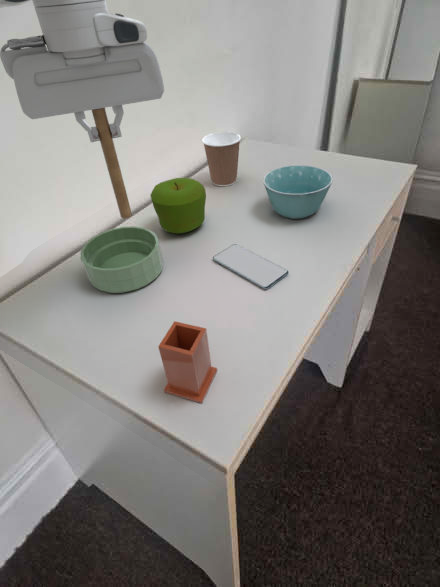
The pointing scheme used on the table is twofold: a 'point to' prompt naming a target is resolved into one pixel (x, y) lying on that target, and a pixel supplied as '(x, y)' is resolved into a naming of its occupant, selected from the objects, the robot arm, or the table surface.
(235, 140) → the coffee cup
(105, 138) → the stirring stick
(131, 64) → the robot arm
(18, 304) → the table surface
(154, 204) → the apple
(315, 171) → the bowl
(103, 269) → the green round dish
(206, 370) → the utensil holder
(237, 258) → the smartphone
